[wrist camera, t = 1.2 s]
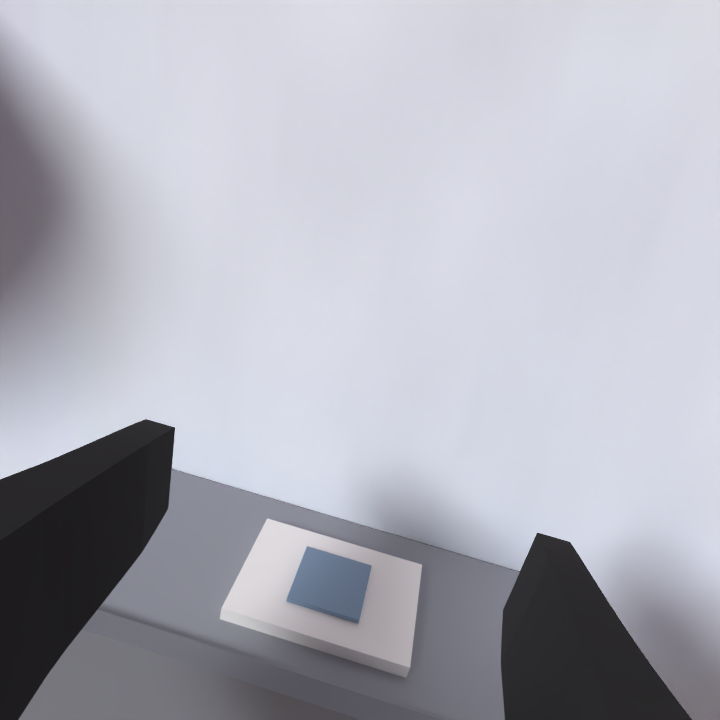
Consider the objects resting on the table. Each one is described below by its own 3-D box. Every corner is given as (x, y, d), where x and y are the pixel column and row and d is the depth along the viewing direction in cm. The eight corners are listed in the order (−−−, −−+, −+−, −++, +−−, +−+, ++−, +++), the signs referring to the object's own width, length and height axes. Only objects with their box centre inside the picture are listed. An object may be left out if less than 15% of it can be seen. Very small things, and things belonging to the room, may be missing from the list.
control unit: (603, 582, 18) (664, 810, 12) (549, 682, 20) (580, 918, 14) (120, 440, 20) (-35, 584, 14) (116, 548, 22) (-19, 713, 16)
